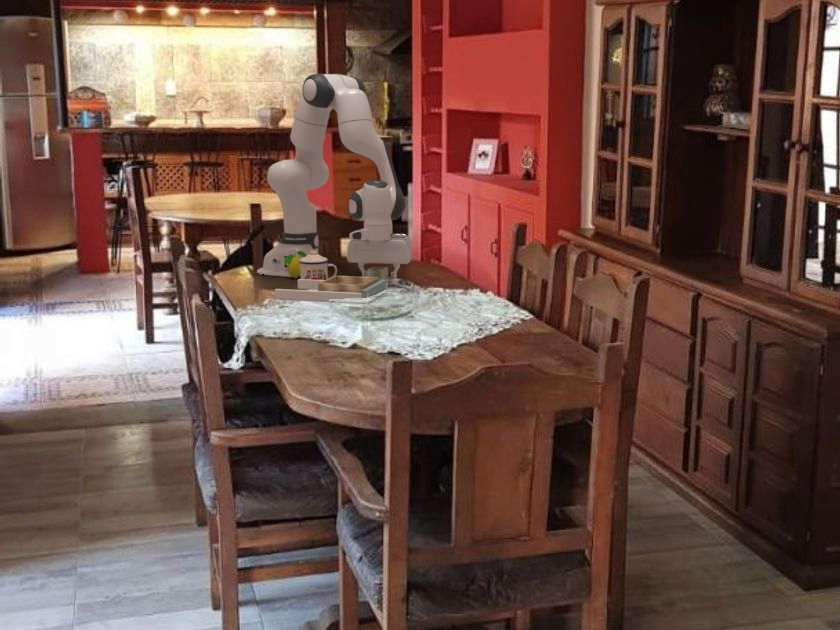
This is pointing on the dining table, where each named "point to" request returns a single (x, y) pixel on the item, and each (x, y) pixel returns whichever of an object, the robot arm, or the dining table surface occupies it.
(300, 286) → the bay
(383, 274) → the block
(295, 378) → the dining table surface
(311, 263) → the teacup with lid
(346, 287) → the crate
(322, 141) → the robot arm
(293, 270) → the lemon
